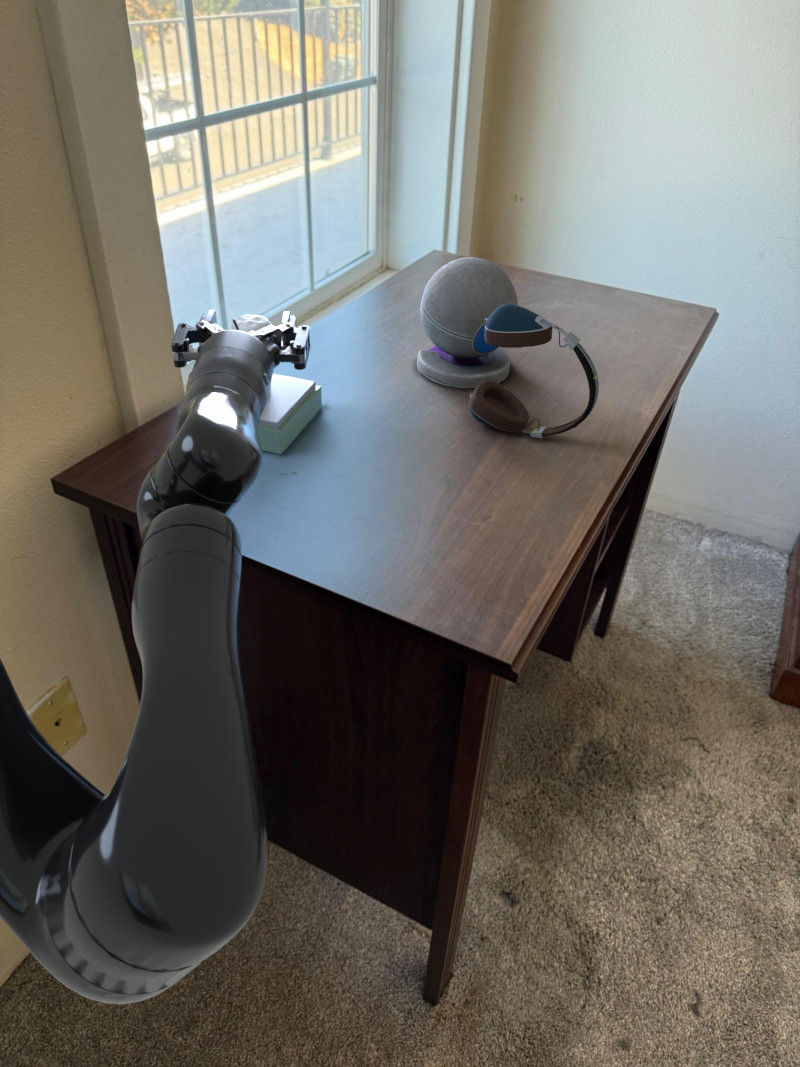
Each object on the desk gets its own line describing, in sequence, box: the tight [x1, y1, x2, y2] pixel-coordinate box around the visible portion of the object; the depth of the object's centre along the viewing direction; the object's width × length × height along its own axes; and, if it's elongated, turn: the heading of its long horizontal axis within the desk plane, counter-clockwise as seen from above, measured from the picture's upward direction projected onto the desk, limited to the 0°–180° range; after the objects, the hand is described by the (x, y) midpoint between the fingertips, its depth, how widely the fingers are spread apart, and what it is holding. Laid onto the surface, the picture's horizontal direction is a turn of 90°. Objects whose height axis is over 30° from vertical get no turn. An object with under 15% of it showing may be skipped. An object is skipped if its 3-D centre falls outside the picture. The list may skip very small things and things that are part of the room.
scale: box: [257, 372, 323, 455], centre depth 90 cm, size 12×12×4 cm
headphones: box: [420, 304, 600, 439], centre depth 88 cm, size 6×15×22 cm
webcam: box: [416, 256, 519, 389], centre depth 100 cm, size 13×13×15 cm
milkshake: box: [231, 313, 273, 394], centre depth 86 cm, size 5×5×10 cm
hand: (250, 318), depth 85 cm, fingers open, 8 cm apart
